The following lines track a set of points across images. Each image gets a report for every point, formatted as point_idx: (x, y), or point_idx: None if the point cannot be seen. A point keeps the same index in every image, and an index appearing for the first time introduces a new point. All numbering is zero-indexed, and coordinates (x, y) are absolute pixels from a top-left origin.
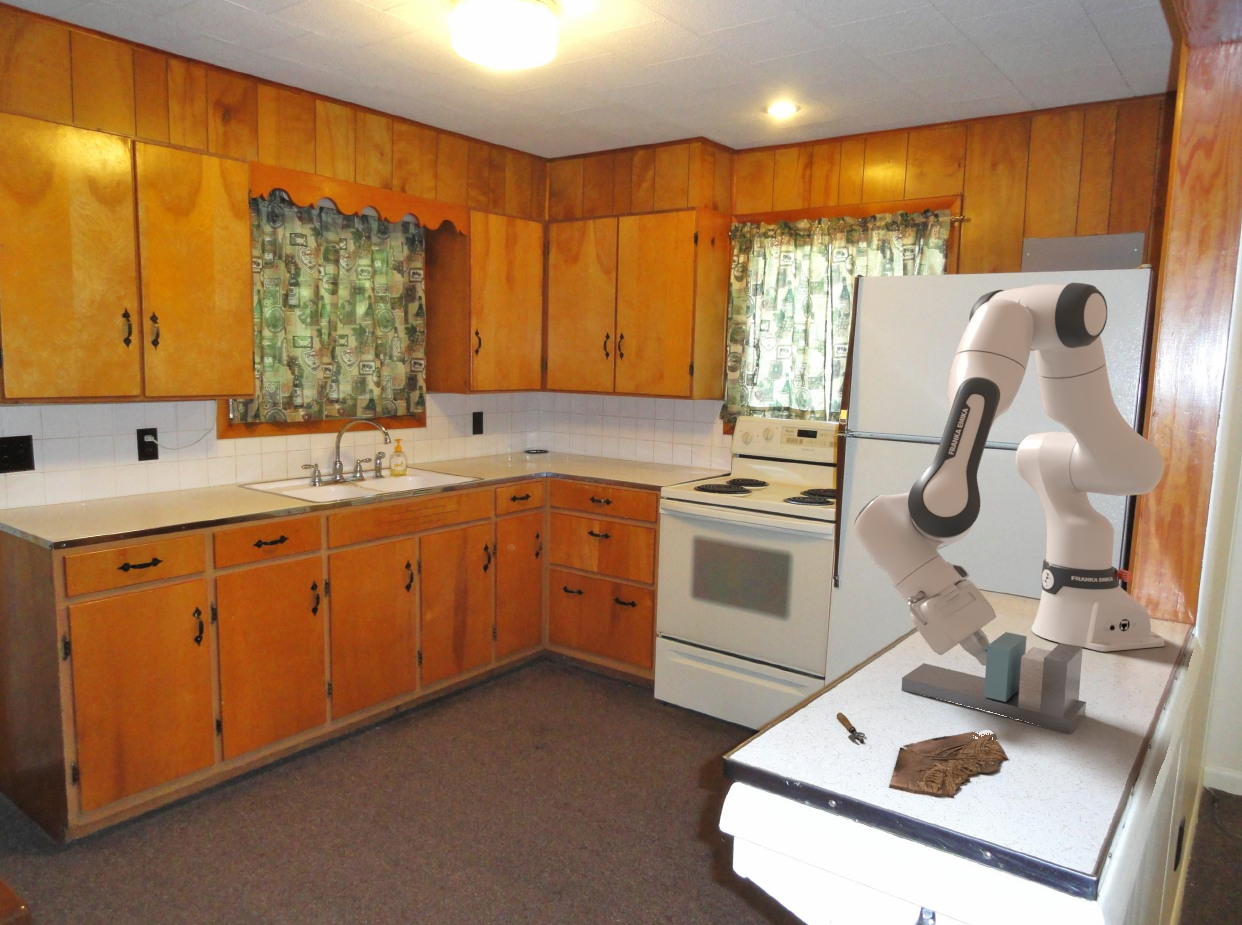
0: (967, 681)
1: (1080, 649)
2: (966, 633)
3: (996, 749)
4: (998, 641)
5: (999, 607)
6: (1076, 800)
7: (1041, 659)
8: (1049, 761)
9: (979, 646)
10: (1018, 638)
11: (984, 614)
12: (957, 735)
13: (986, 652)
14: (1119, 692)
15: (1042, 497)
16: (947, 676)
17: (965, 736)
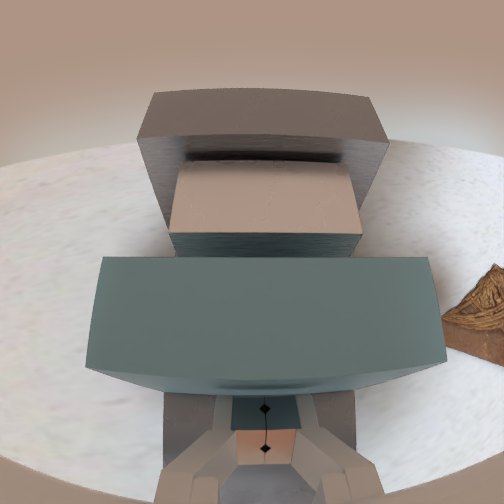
0: (241, 478)
1: (183, 90)
2: (478, 475)
3: (497, 283)
4: (327, 351)
5: None
6: (498, 181)
7: (329, 173)
8: (452, 218)
9: (345, 446)
10: (172, 279)
11: (7, 501)
12: (496, 360)
13: (310, 418)
14: (34, 198)
15: None
16: None
17: (489, 349)
